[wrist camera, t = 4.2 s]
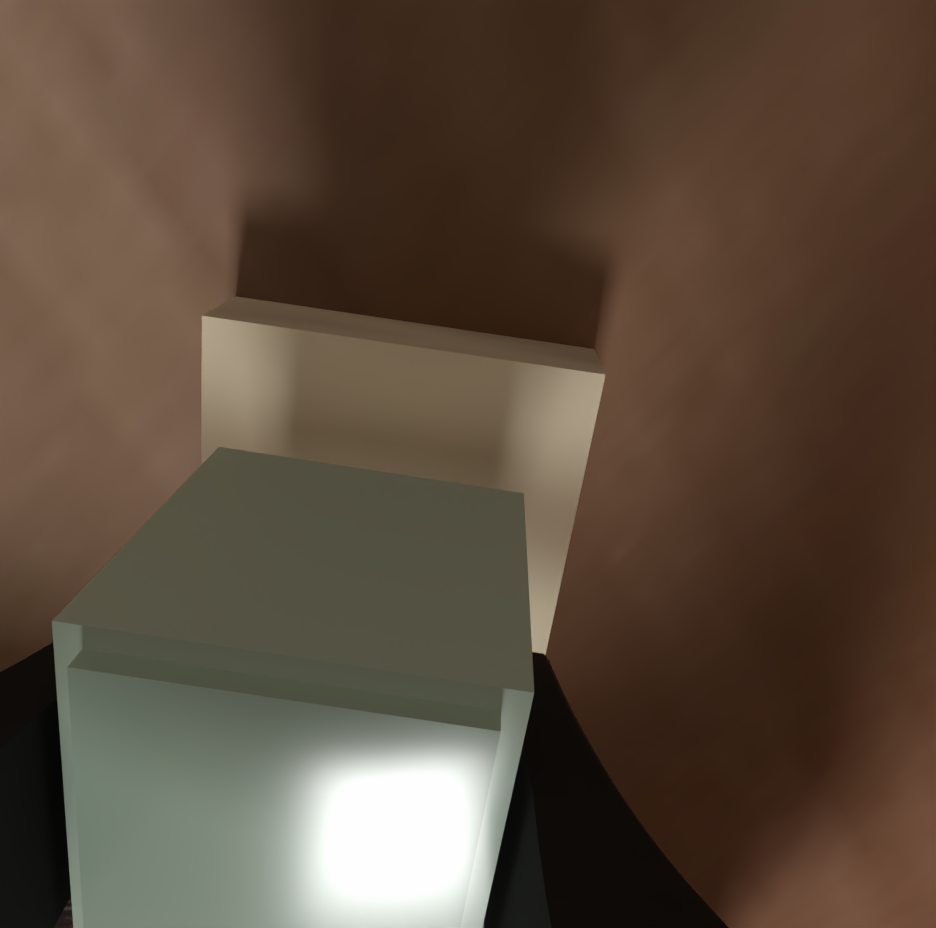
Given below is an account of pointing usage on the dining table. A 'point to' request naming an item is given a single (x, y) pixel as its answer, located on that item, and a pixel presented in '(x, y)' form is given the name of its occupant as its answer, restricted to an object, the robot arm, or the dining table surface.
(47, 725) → the robot arm
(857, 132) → the dining table surface
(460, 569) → the sage box
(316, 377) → the maple block
